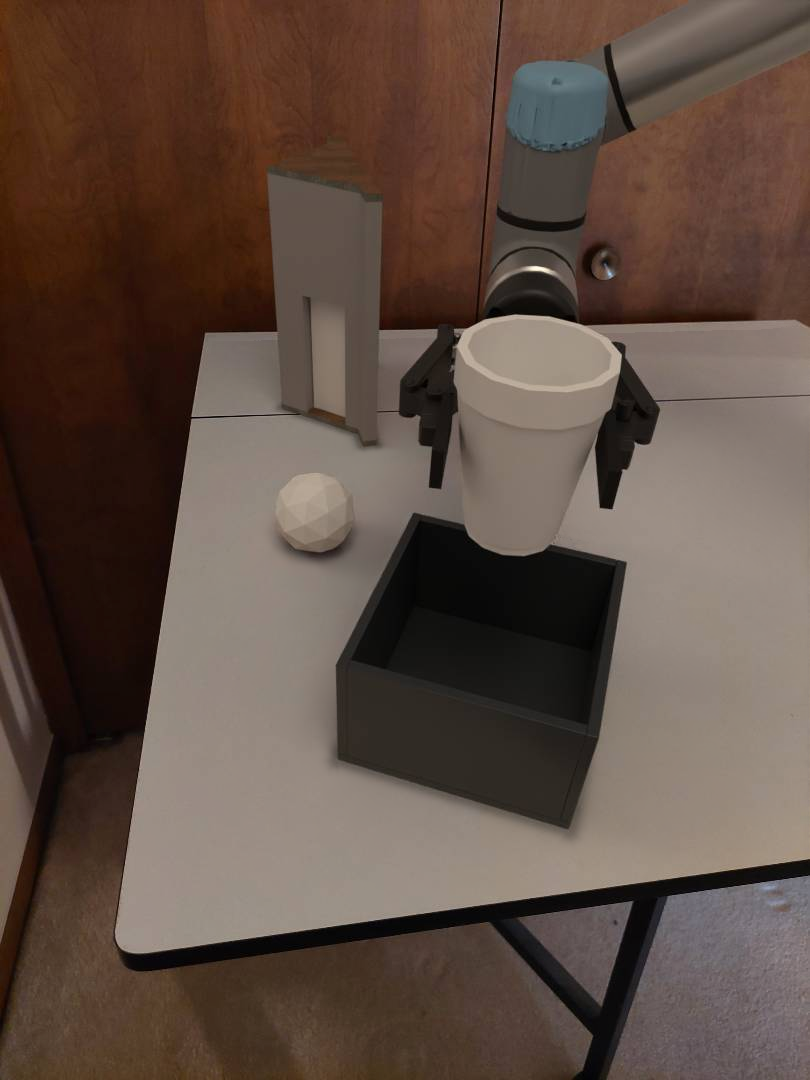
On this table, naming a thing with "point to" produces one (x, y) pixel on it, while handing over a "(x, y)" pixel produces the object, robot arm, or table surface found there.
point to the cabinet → (327, 285)
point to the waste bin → (481, 670)
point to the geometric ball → (314, 512)
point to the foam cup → (527, 424)
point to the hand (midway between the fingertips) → (522, 480)
